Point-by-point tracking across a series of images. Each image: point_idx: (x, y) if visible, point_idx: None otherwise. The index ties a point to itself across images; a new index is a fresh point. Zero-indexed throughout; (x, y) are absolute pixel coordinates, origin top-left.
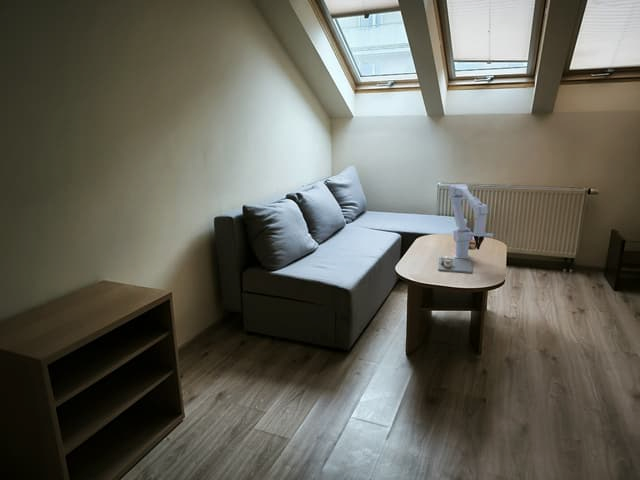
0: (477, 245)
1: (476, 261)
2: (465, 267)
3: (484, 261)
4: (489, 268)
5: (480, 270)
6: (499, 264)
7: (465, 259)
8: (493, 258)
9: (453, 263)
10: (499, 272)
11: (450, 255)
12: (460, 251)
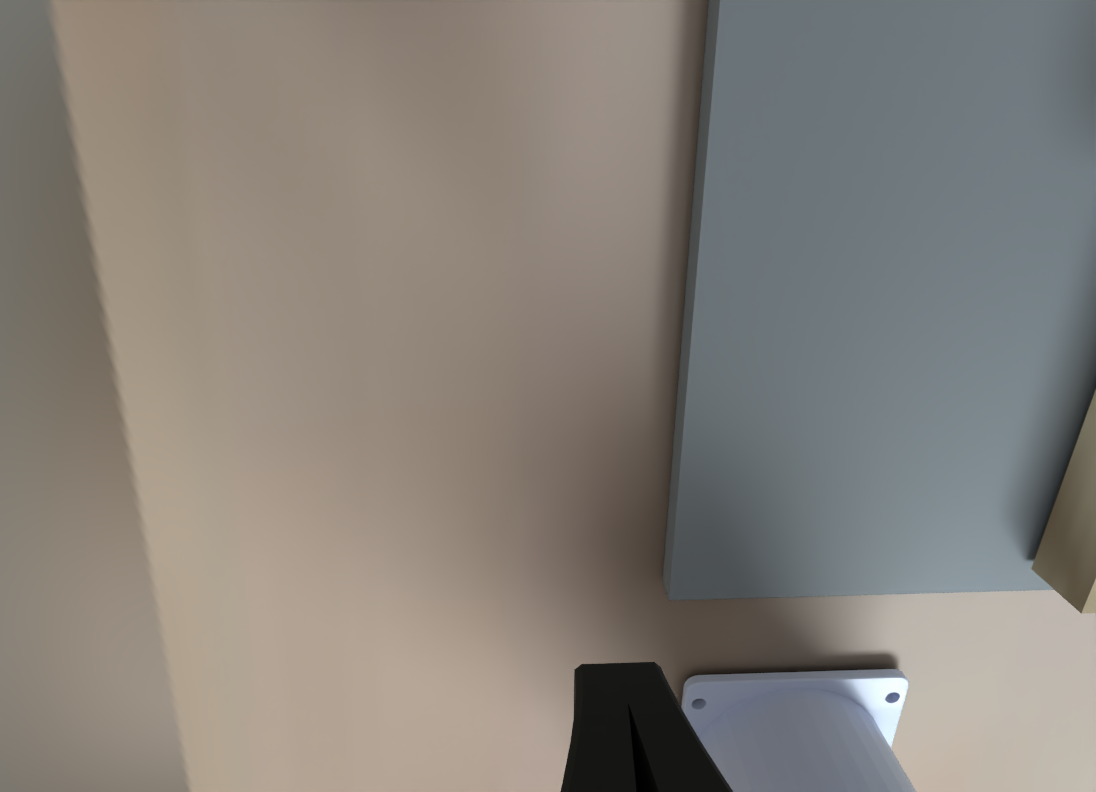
0: (683, 786)
1: (562, 602)
2: (856, 91)
3: (430, 631)
4: (325, 281)
5: (510, 89)
6: (168, 550)
7: (761, 596)
8: (297, 781)
9: (1055, 317)
10: (86, 48)
11: (1094, 604)
12: (877, 789)
